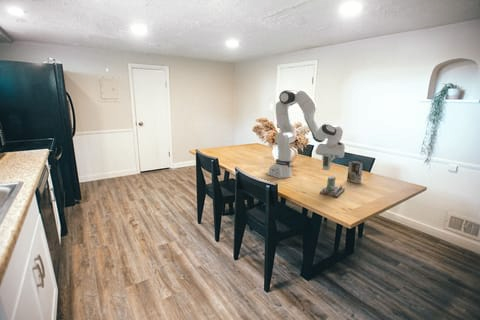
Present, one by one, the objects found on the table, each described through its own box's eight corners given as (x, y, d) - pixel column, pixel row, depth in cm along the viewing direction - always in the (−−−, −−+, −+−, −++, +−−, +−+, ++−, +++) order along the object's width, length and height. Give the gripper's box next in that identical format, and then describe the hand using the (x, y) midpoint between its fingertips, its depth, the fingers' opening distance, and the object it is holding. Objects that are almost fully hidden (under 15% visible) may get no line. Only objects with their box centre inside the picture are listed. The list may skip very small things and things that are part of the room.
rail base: (319, 193, 175) (321, 177, 172) (328, 186, 189) (329, 171, 186) (336, 198, 168) (339, 180, 165) (344, 190, 182) (346, 174, 179)
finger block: (322, 169, 180) (323, 154, 177) (324, 168, 183) (325, 153, 180) (327, 170, 177) (329, 155, 175) (329, 169, 181) (330, 154, 178)
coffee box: (361, 181, 201) (363, 162, 197) (357, 183, 197) (360, 164, 193) (350, 178, 208) (352, 160, 204) (346, 180, 204) (348, 161, 200)
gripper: (317, 141, 188) (312, 156, 182) (345, 143, 175) (340, 159, 170) (319, 146, 192) (313, 160, 187) (346, 149, 180) (341, 164, 175)
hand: (326, 160), depth 178 cm, fingers closed on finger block, 4 cm apart
